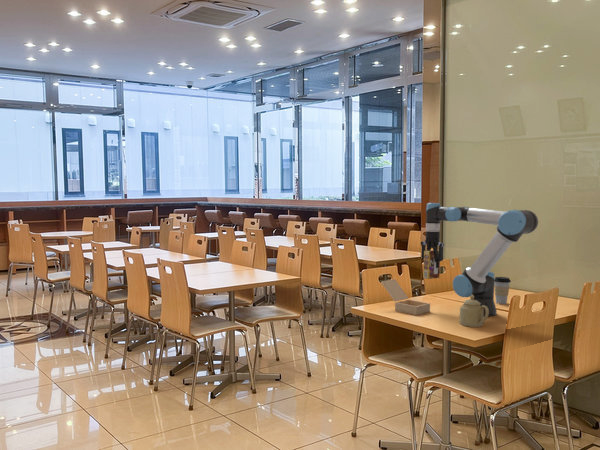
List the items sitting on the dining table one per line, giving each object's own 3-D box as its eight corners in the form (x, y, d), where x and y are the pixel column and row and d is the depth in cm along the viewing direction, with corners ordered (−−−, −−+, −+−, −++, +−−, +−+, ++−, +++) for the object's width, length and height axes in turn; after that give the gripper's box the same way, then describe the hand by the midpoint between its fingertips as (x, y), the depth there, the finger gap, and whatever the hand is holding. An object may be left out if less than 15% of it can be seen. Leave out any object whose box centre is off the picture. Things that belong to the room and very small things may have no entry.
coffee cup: (492, 303, 331) (493, 278, 330) (493, 301, 340) (494, 276, 339) (509, 305, 327) (510, 279, 326) (510, 302, 336) (511, 277, 335)
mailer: (429, 311, 305) (430, 303, 305) (416, 315, 296) (416, 306, 295) (408, 307, 314) (408, 299, 314) (394, 310, 305) (395, 302, 305)
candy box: (428, 279, 308) (429, 251, 307) (422, 278, 311) (423, 250, 311) (440, 278, 313) (440, 250, 312) (434, 277, 316) (434, 250, 316)
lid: (395, 279, 320) (394, 279, 321) (381, 281, 311) (380, 281, 311) (408, 298, 314) (408, 298, 314) (394, 301, 305) (394, 301, 305)
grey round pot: (493, 325, 276) (495, 294, 275) (487, 329, 267) (488, 298, 266) (463, 320, 285) (465, 291, 284) (456, 324, 276) (457, 294, 275)
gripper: (450, 231, 307) (449, 274, 308) (422, 229, 320) (421, 270, 321) (443, 232, 302) (442, 275, 303) (415, 230, 314) (413, 272, 316)
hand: (431, 273), depth 312 cm, fingers closed on candy box, 5 cm apart
